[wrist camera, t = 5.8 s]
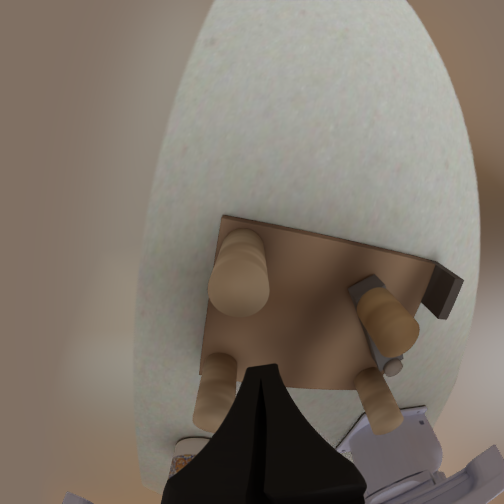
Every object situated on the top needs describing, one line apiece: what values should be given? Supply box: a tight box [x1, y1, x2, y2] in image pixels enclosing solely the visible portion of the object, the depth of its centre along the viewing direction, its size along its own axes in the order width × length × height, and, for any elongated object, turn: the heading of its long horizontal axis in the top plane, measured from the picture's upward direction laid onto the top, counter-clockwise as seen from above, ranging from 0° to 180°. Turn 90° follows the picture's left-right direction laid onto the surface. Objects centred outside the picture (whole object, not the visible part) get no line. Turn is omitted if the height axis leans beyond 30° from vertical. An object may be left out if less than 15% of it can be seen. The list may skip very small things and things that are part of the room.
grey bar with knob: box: [348, 274, 420, 377], centre depth 15 cm, size 8×2×5 cm, turn 28°
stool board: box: [193, 215, 464, 435], centre depth 15 cm, size 16×12×6 cm
